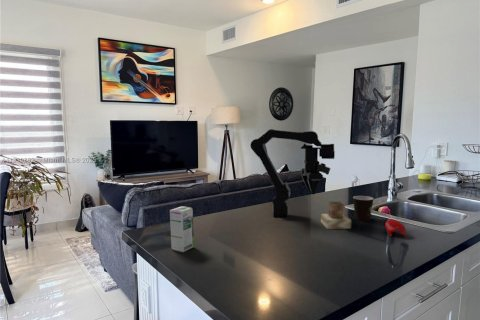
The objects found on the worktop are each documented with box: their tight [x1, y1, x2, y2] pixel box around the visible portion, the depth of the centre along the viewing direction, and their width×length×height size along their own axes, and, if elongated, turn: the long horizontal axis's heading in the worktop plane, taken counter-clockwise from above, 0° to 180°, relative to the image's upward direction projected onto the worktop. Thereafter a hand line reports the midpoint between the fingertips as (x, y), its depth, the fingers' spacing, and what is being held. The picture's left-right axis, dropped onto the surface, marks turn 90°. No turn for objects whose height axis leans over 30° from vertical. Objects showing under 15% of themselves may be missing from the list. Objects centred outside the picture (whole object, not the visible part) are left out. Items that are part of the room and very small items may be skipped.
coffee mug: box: [352, 195, 375, 223], centre depth 148 cm, size 12×9×10 cm
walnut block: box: [328, 201, 345, 218], centre depth 140 cm, size 5×5×6 cm
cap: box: [384, 219, 407, 237], centre depth 127 cm, size 8×6×6 cm
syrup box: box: [169, 205, 195, 253], centre depth 115 cm, size 6×6×14 cm
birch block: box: [320, 213, 352, 230], centre depth 140 cm, size 10×10×4 cm
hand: (310, 192), depth 151 cm, fingers open, 9 cm apart
